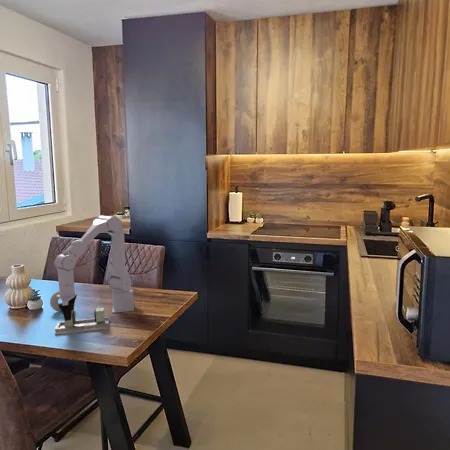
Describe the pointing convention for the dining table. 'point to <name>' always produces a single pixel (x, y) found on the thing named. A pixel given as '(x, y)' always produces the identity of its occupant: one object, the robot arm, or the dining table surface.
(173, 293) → the dining table surface
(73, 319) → the pale green cuboid
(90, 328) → the tray
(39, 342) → the dining table surface
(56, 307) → the donut
